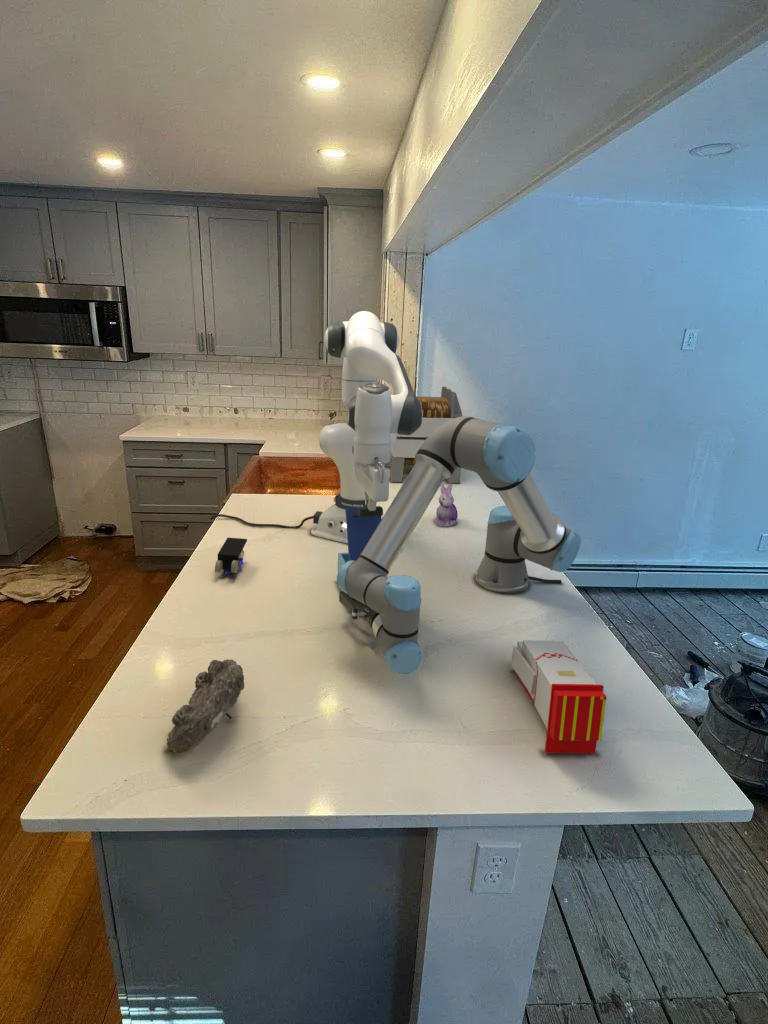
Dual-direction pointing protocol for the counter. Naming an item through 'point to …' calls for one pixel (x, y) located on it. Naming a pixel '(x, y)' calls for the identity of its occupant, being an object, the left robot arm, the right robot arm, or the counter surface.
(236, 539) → the figurine character
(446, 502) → the figurine
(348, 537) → the lid
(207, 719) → the fossil
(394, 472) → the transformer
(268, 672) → the counter surface
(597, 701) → the toy
